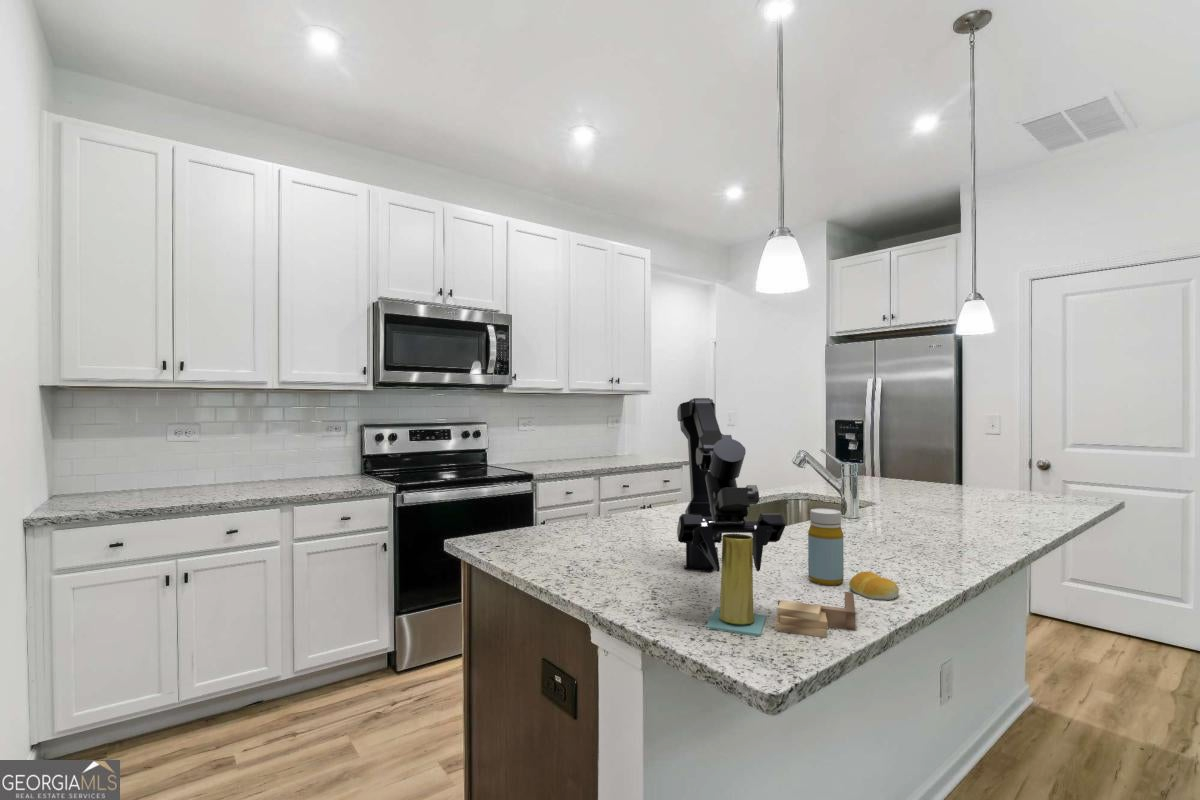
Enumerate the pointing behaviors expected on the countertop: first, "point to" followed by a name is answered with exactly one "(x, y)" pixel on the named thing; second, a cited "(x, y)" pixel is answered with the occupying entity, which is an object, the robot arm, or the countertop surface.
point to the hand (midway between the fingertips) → (738, 570)
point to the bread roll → (873, 586)
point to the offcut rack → (814, 617)
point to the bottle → (825, 547)
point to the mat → (737, 625)
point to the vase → (737, 579)
